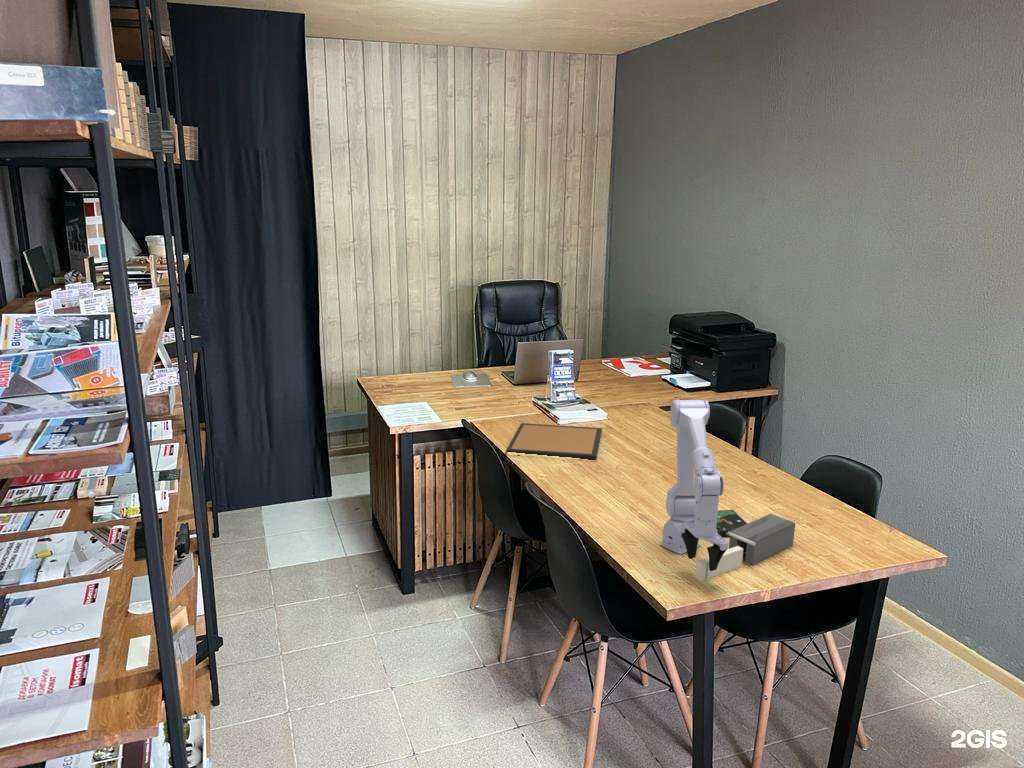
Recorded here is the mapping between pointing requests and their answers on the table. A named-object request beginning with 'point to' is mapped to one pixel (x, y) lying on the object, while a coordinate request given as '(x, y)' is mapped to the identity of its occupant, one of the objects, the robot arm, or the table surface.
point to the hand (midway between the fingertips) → (702, 563)
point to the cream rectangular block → (720, 564)
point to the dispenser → (763, 537)
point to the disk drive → (728, 522)
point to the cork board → (556, 441)
